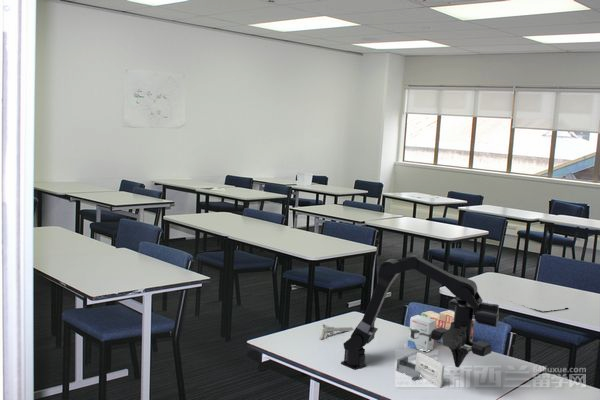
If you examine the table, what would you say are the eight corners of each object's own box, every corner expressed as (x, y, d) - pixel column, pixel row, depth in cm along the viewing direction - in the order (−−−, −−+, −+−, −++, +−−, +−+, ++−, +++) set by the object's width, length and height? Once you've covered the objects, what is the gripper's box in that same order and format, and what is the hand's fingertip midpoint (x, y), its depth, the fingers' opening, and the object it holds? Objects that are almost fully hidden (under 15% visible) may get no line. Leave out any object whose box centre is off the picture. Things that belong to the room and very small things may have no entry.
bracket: (393, 371, 200) (394, 360, 199) (407, 365, 206) (408, 355, 205) (415, 381, 193) (416, 369, 193) (429, 374, 199) (431, 363, 199)
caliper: (321, 341, 224) (322, 325, 223) (319, 340, 225) (320, 324, 224) (353, 330, 239) (355, 315, 238) (351, 329, 240) (353, 314, 239)
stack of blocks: (418, 334, 240) (421, 305, 238) (428, 332, 244) (431, 303, 242) (462, 352, 223) (465, 321, 222) (471, 349, 227) (475, 318, 226)
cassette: (413, 373, 200) (415, 352, 199) (417, 372, 201) (419, 351, 200) (439, 388, 190) (441, 365, 189) (443, 387, 191) (445, 364, 190)
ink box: (406, 346, 225) (410, 316, 223) (413, 343, 229) (416, 314, 227) (426, 353, 219) (429, 322, 218) (433, 350, 223) (436, 320, 221)
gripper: (423, 315, 186) (418, 363, 188) (478, 333, 173) (471, 384, 175) (442, 310, 194) (436, 355, 196) (495, 326, 181) (489, 374, 183)
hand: (457, 367), depth 187 cm, fingers closed
